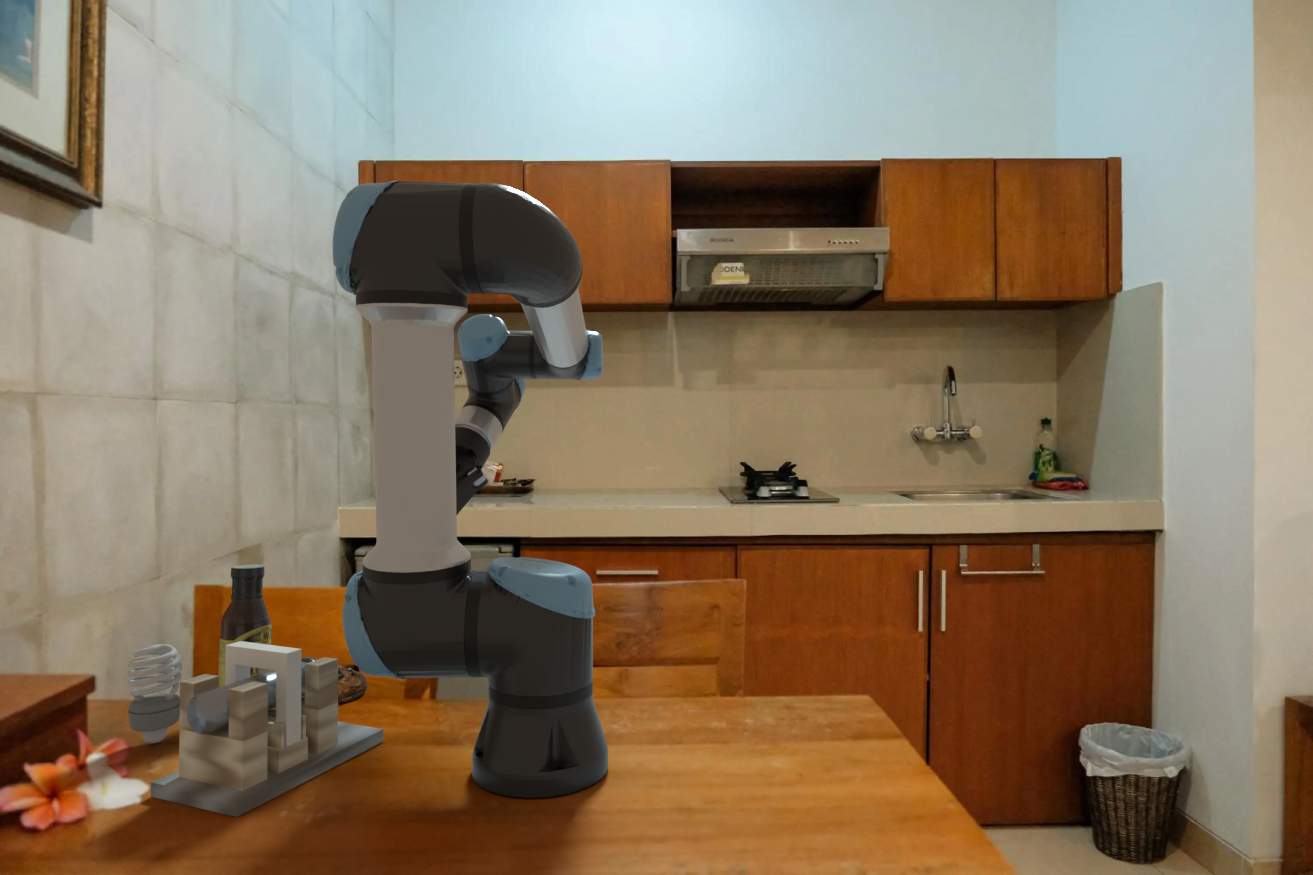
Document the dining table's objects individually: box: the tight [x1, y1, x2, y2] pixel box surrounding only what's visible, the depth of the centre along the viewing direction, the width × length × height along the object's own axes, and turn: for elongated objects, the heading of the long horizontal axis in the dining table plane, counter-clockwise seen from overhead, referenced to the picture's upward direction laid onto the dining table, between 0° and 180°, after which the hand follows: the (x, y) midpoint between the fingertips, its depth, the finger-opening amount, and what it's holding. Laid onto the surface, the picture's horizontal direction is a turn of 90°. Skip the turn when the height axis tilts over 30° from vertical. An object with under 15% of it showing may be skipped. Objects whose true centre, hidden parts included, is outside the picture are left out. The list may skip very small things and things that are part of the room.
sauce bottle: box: [218, 564, 273, 688], centre depth 107 cm, size 6×6×20 cm
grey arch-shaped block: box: [225, 641, 303, 747], centre depth 88 cm, size 9×2×10 cm, turn 69°
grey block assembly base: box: [150, 657, 384, 818], centre depth 89 cm, size 12×21×12 cm, turn 159°
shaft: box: [187, 656, 318, 734], centre depth 87 cm, size 14×4×4 cm, turn 159°
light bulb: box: [126, 643, 183, 745], centre depth 96 cm, size 6×6×12 cm
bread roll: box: [303, 666, 368, 704], centre depth 115 cm, size 11×11×5 cm
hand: (397, 561), depth 108 cm, fingers closed
